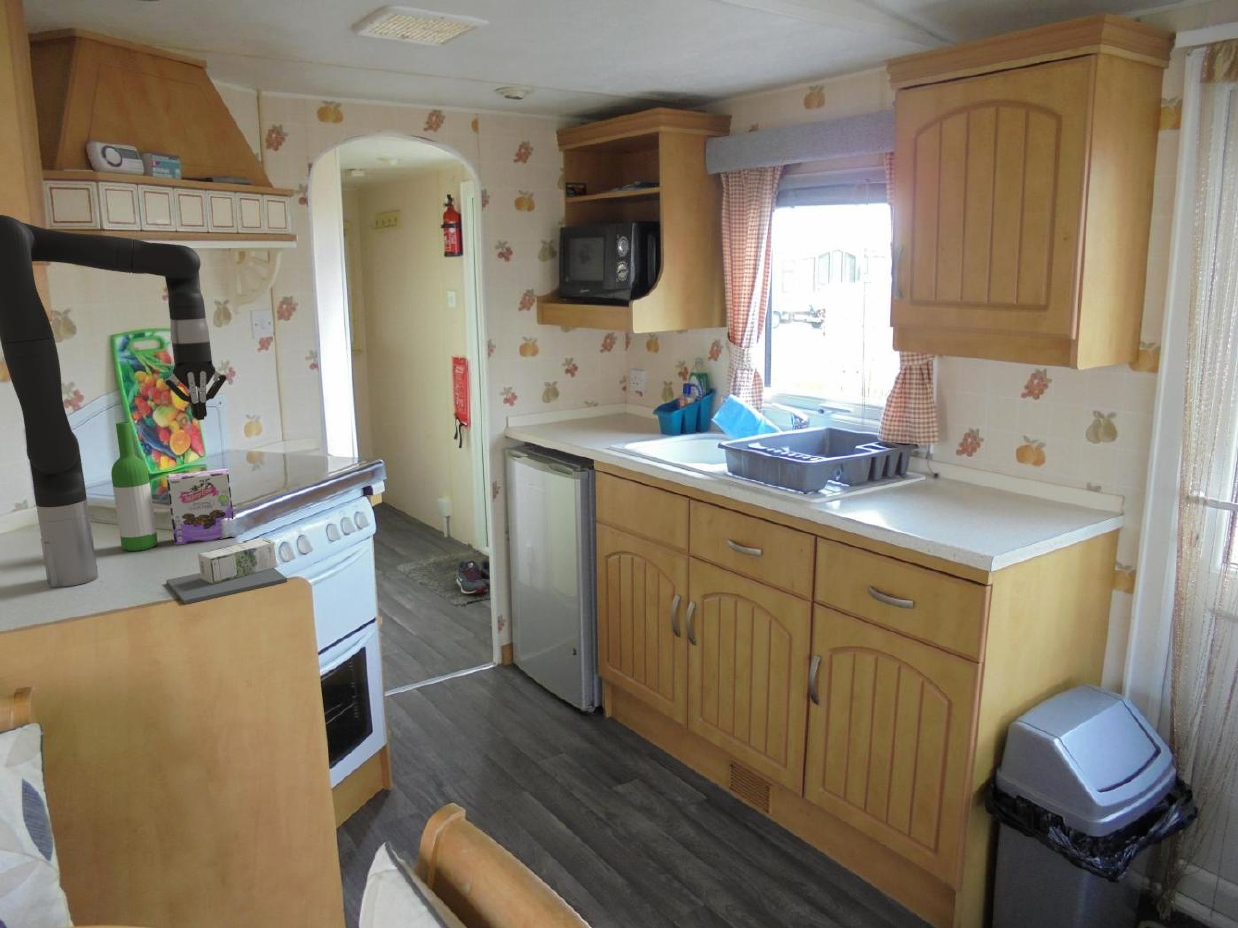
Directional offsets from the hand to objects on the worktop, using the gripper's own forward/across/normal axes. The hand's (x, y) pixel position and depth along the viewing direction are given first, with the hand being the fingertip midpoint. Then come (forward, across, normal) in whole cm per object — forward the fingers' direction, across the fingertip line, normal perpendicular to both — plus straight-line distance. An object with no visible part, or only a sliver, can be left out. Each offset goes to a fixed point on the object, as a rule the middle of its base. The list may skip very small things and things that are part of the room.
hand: (200, 419), depth 206 cm
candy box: (+32, +2, +18) cm, 37 cm away
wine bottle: (+32, -12, +21) cm, 40 cm away
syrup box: (+28, -7, -19) cm, 35 cm away
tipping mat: (+32, -3, -20) cm, 37 cm away
